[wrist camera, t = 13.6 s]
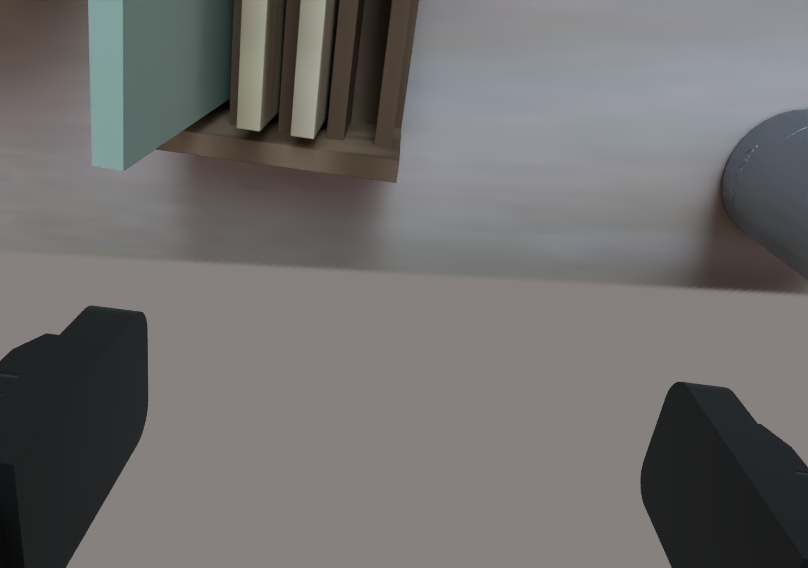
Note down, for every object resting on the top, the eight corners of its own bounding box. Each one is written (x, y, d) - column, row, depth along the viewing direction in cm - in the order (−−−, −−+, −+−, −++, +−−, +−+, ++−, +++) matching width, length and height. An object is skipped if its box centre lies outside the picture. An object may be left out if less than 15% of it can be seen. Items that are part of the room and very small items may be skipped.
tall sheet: (251, -99, 41) (122, -160, 22) (239, 92, 45) (123, 170, 27) (230, -103, 41) (84, -167, 22) (221, 88, 45) (91, 166, 27)
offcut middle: (351, -82, 41) (334, -99, 32) (332, 106, 45) (313, 138, 36) (331, -86, 41) (308, -104, 32) (314, 103, 45) (290, 135, 36)
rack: (433, -107, 41) (440, -130, 32) (398, 142, 47) (396, 182, 38) (196, -145, 41) (134, -180, 31) (191, 113, 47) (138, 147, 37)
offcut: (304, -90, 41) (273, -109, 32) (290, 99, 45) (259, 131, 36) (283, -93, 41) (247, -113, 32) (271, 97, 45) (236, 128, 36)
